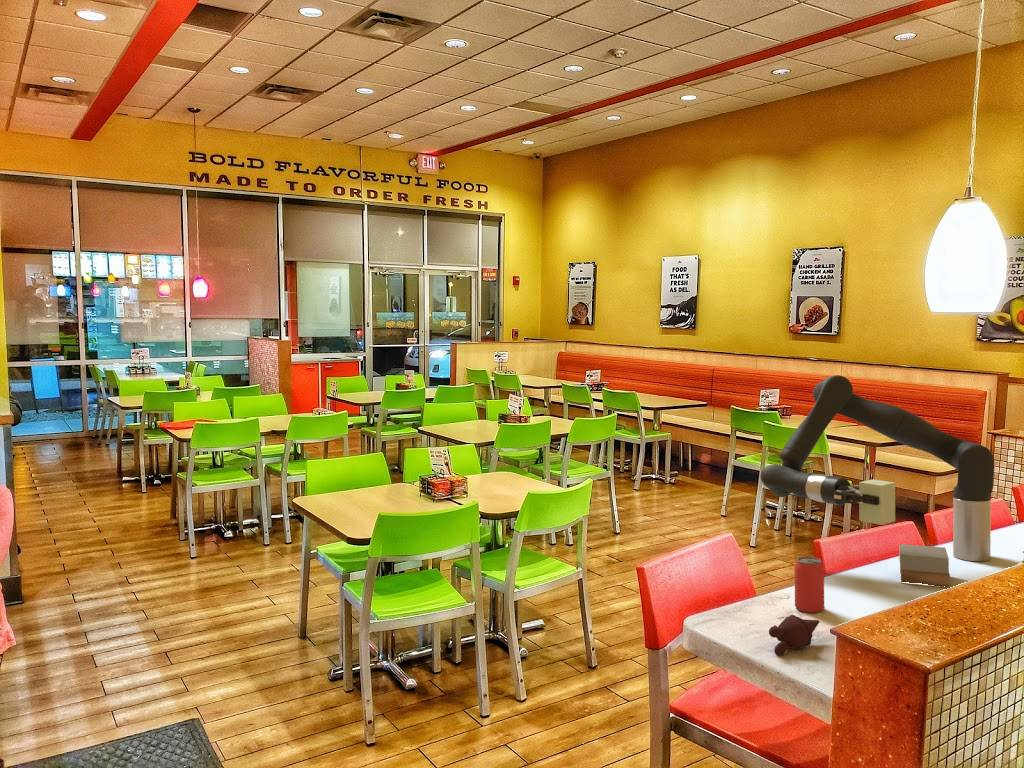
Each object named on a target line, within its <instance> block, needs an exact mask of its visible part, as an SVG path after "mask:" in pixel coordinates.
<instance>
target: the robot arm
mask: <svg viewBox="0 0 1024 768" xmlns="http://www.w3.org/2000/svg"><path fill="white" fill-rule="evenodd" d="M812 396H813V399H814V402H815V403H814V404H813V407H812V409H811V410H810V411H809V413H808V414H807V416H805V418H804V419H803V421H802V422H801V423H800V424H799V425H798V427H797V428H796V429H795V430H794V432H793V433H792V434H791V436H790V437H789V439H788V440H787V442H786V444H785V445H784V446H783V448H782V450H781V451H780V453H779V457H780V460H781V463H782V465H781V464H777V463H776V464H769V465H766V466H765V467H764V468H763V469H762V471H761V472H760V480H761V482H762V484H763V485H764V486H765V487H766V488H767V489H768V490H769V491H770V492H772V493H773V494H774V495H775V496H776V497H778V498H785V497H788V496H789V495H791V494H793V495H794V496H796V497H798V498H802V499H809V500H814V501H816V502H819V503H824V504H830V505H835V506H844V505H846V504H852V505H857V504H859V503H860V504H863V503H866V504H872V505H879V497H878V496H873V495H867V494H863V493H859V484H852V485H851V484H850V481H849V480H848V479H847V478H845V477H842V476H841V477H840V476H836V475H835V476H834V475H828V474H821V473H820V474H819V473H810V472H803V471H802V470H803V467H804V464H805V462H806V461H807V459H808V458H809V456H810V454H811V453H812V451H814V450H813V449H814V448H815V446H816V445H817V443H818V441H819V440H820V438H822V435H823V433H824V432H825V431H826V428H828V426H829V425H830V423H831V421H832V420H834V418H835V416H836V415H840V416H843V417H846V418H850V419H852V420H853V421H855V422H857V423H860V424H861V425H863V426H865V427H867V428H869V429H871V430H873V431H875V432H877V433H879V434H881V435H883V436H885V437H887V438H888V439H891V440H893V441H895V442H897V443H900V444H902V445H904V446H907V447H910V448H913V449H916V450H919V451H922V452H926V453H928V454H930V455H932V456H934V457H935V458H937V459H939V460H941V461H943V462H944V463H947V465H949V466H951V467H953V468H954V469H955V470H957V483H956V485H955V486H954V487H953V491H952V497H953V500H952V501H953V505H952V507H953V513H952V514H953V517H952V519H953V522H952V526H953V528H952V533H953V535H952V536H953V538H952V543H953V544H952V550H953V551H952V553H953V554H952V556H954V557H955V558H957V559H960V560H962V561H963V560H964V561H971V562H987V561H990V560H991V545H992V544H991V543H992V542H991V541H992V540H991V538H992V537H991V533H992V532H991V523H992V522H991V520H992V519H991V517H992V516H991V512H992V510H991V508H992V507H991V494H992V492H993V489H994V485H995V484H994V482H995V481H994V480H995V459H994V455H993V452H992V451H991V450H990V449H989V448H988V447H986V446H984V445H982V444H980V443H977V442H972V441H970V440H969V441H968V440H965V439H963V438H959V437H956V436H954V435H951V434H948V433H947V432H945V431H943V430H941V429H939V428H937V427H935V426H934V425H933V424H931V423H929V422H928V421H926V420H925V419H924V418H922V417H920V416H919V415H916V414H914V413H912V412H910V411H908V410H906V409H903V408H902V407H899V406H896V405H893V404H889V403H885V402H882V401H881V402H880V401H876V400H872V399H867V398H866V397H865V398H864V397H862V396H859V395H858V394H856V393H854V389H853V384H852V382H851V381H850V379H848V378H847V377H845V376H843V375H839V374H838V375H835V374H834V375H831V376H828V377H826V378H824V379H823V380H821V381H819V382H818V383H817V384H815V386H814V388H813V391H812Z"/></svg>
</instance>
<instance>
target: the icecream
mask: <svg viewBox="0 0 1024 768" xmlns="http://www.w3.org/2000/svg"><path fill="white" fill-rule="evenodd" d="M819 624H820V620H819V619H806V618H805V619H804V618H802V617H799V616H796V615H795V614H790V615H789V616H788V615H787V616H786V617H785V618H784V619H782V621H781V623H780V624H779V625H778V626H777V625H776V624H775V625H773V626H771V627H770V628H769V629H768V635H769V636H770V637H772V638H775V639H777V640H778V641H779V642H778V643H777V644H776V646H775V647H774V654H775V655H777V656H781V655H784V654H785V653H786V652H787V651H788V650H789V649H796V650H799V649H802V648H803V649H804V648H805V647H809V646H810V645H811V644H812V639H813V633H814V631H815V630H816V628H817V627H818V625H819Z"/></svg>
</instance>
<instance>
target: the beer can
mask: <svg viewBox="0 0 1024 768" xmlns="http://www.w3.org/2000/svg"><path fill="white" fill-rule="evenodd" d="M793 569H794V606H795V608H796V609H797V610H798V611H801V612H803V613H808V614H817V613H821V612H823V611H824V610H825V569H824V566H823V561H822V559H820V558H817V557H814V556H813V557H812V556H801V557H797V559H796V561H795V564H794V568H793Z"/></svg>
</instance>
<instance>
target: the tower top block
mask: <svg viewBox="0 0 1024 768" xmlns="http://www.w3.org/2000/svg"><path fill="white" fill-rule="evenodd" d="M898 547H899V551H898V552H899V553H898V554H899V556H898V557H899V558H898V559H899V571H900V570H909V571H921V572H932V573H943V574H950V566H949V565H950V563H949V559H950V558H949V555H948V552H947V549H946V547H944V546H943V547H942V546H928V545H915V544H903V543H900V544H899V545H898Z"/></svg>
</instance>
